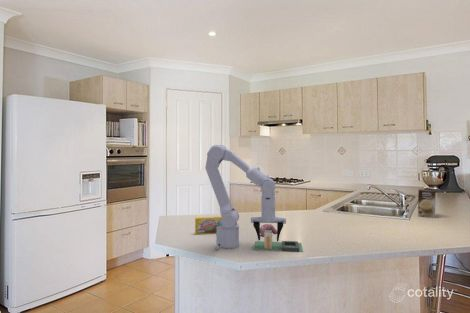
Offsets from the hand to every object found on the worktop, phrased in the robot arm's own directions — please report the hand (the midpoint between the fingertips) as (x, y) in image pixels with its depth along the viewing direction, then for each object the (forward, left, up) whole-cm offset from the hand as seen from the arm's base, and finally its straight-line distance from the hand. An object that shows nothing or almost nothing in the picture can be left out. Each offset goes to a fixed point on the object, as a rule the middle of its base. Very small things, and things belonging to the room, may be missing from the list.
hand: (268, 240), depth 129 cm
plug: (0, 0, -3) cm, 3 cm away
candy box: (-29, +21, -4) cm, 36 cm away
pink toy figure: (-1, +19, -4) cm, 19 cm away
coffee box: (+94, +76, -4) cm, 121 cm away
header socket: (+9, 0, -4) cm, 10 cm away
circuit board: (+4, +2, -4) cm, 6 cm away
